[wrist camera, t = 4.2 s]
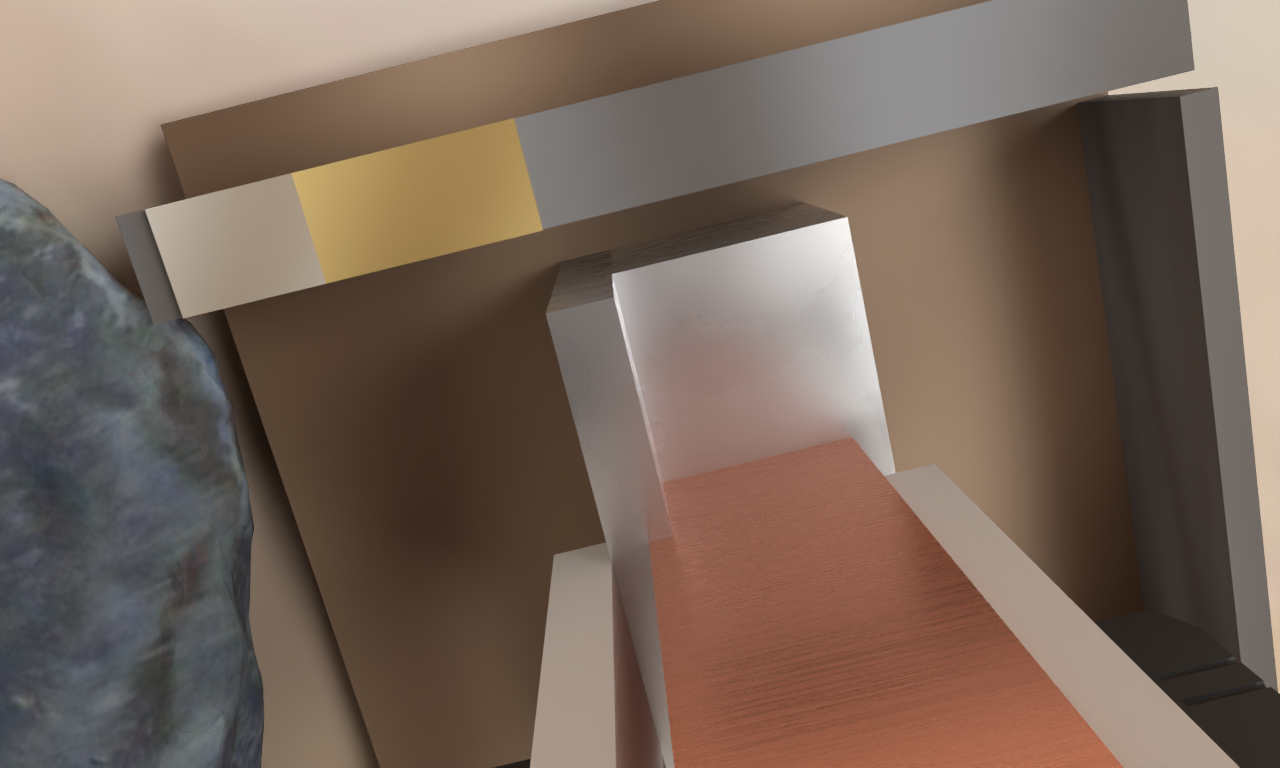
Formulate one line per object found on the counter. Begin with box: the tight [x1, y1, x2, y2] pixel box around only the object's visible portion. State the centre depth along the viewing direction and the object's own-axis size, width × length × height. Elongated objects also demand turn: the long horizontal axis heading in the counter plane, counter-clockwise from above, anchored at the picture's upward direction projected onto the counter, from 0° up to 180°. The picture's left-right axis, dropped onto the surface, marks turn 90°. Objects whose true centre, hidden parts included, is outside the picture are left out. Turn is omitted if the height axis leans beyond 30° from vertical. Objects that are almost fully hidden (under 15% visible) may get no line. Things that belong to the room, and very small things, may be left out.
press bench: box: [115, 0, 1278, 768], centre depth 17 cm, size 14×16×4 cm
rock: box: [0, 179, 264, 768], centre depth 17 cm, size 16×8×10 cm
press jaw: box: [546, 202, 1124, 768], centre depth 11 cm, size 4×9×14 cm, turn 14°
